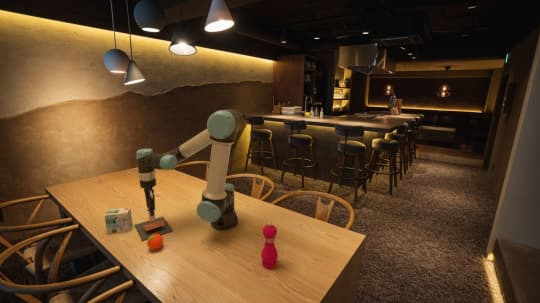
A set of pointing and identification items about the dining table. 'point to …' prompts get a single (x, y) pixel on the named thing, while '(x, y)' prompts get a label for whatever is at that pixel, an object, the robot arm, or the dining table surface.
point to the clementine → (155, 241)
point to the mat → (146, 234)
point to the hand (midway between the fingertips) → (152, 220)
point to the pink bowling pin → (269, 247)
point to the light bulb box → (118, 220)
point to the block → (153, 225)
